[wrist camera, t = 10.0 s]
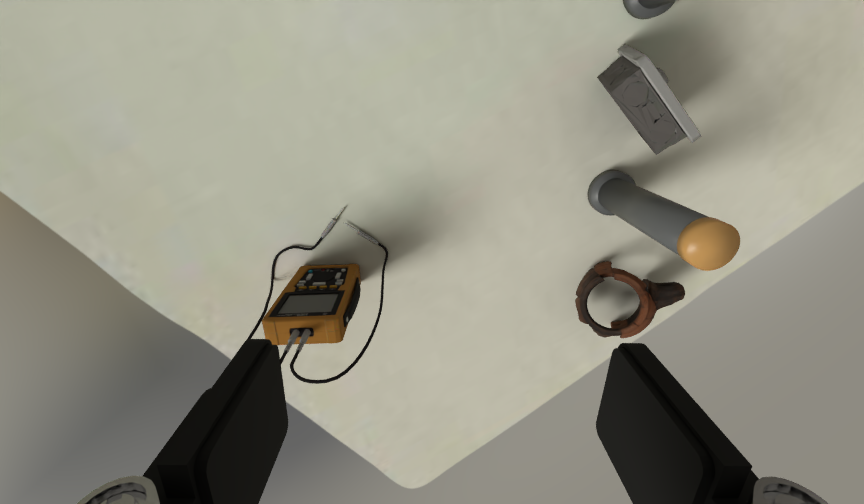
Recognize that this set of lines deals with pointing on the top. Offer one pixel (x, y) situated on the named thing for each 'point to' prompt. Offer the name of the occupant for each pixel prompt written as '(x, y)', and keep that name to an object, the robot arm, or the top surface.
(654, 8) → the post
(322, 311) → the multimeter
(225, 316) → the top surface
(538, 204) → the top surface
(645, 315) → the brown curved hollow piece
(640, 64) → the electrical switch
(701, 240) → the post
